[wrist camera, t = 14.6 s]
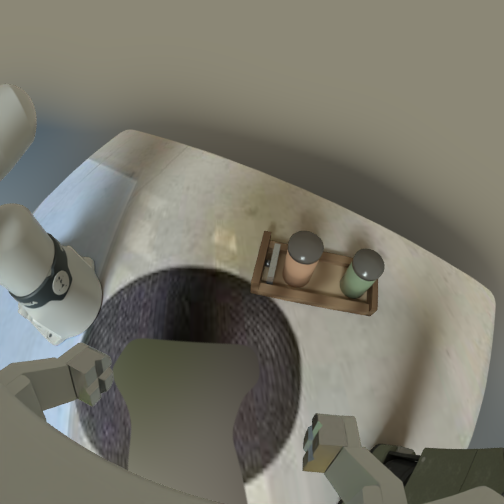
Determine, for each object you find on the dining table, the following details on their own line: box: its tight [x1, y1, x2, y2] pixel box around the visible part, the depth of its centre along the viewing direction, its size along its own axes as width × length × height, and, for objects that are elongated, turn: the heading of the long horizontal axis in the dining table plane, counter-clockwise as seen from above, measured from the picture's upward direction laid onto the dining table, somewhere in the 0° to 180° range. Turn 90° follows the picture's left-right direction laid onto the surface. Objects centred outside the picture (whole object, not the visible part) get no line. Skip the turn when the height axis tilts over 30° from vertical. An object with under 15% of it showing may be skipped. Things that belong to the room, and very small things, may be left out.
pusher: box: [265, 243, 281, 285], centre depth 46 cm, size 2×6×3 cm, turn 167°
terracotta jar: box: [282, 231, 324, 288], centre depth 43 cm, size 5×5×9 cm
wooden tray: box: [251, 231, 378, 316], centre depth 45 cm, size 21×10×4 cm, turn 77°
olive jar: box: [340, 249, 384, 299], centre depth 42 cm, size 5×5×8 cm
